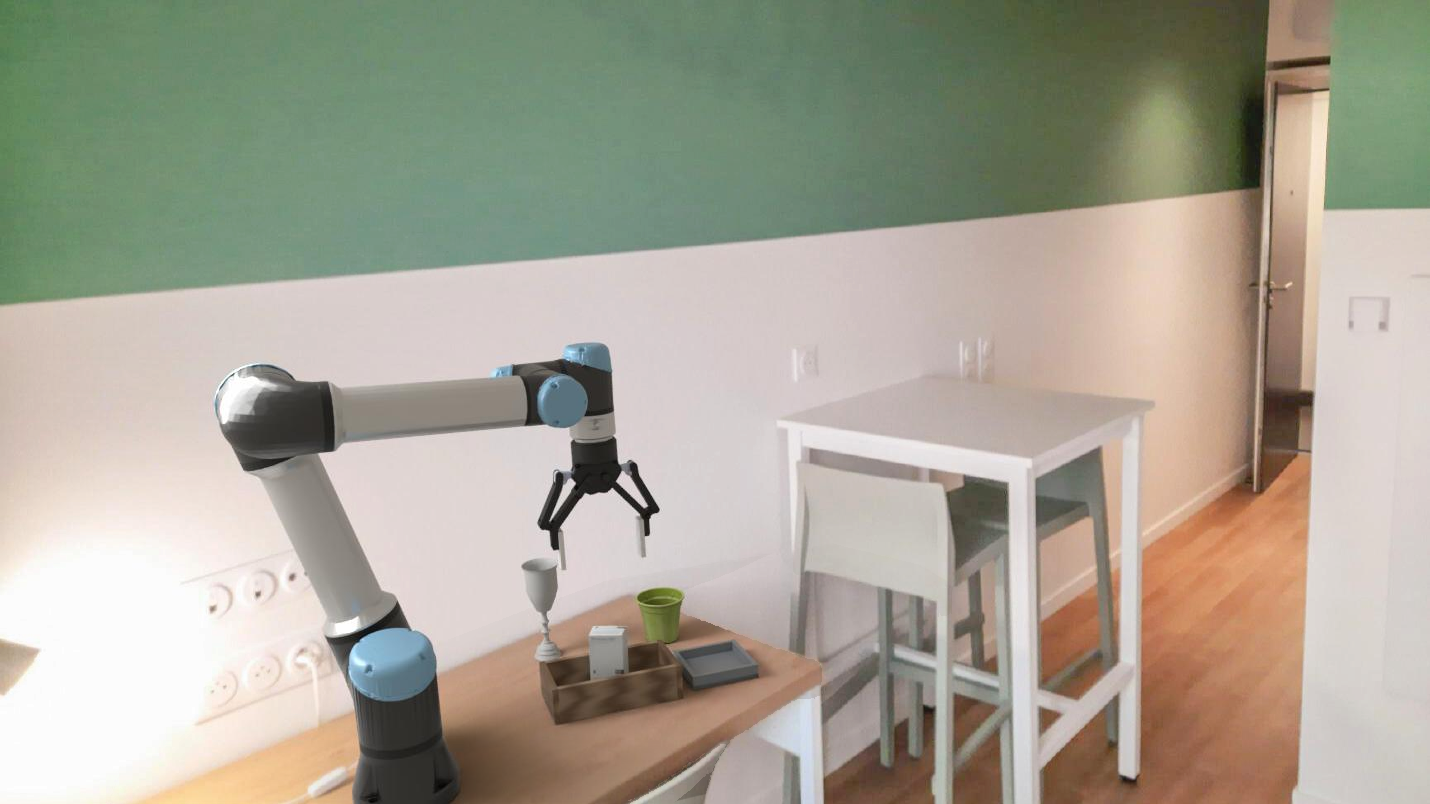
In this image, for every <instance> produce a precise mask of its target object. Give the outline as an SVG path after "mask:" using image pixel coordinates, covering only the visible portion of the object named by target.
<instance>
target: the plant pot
mask: <svg viewBox="0 0 1430 804" xmlns="http://www.w3.org/2000/svg"><path fill="white" fill-rule="evenodd" d="M684 599H685V593H684V592H683V591H682V590H680V589H678V588H675V587H667V586H663V587H653V588H648V589H645V590H642V591H640V592H639V593H637V594H636V596H635V602H636V603H637V604H638V608H639V610H640V613H641V614H640V615H641V617H642V624H643V627H644V633H645V639H646V640H647V642H650V641H655V640H661V639H662V641H663V642H664V643H665V644H671V643H673V642H675V641H676V640H678V638H679V630H680V628H679V627H680V616H681V608H682V605H683V600H684Z"/></svg>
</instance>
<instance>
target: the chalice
mask: <svg viewBox="0 0 1430 804" xmlns="http://www.w3.org/2000/svg"><path fill="white" fill-rule="evenodd" d="M558 566H559V564H558V559H556V558H553V557H538V558H533V559H530V560H527V561H525V562H523V563H522V564H521V567H520V568H521V569H522V571H523V572H524V580H525V592H526V595H527V596H528V599H529V601H530V603H531V605H532V606H533V607H534V609H535V611H536V612H538V613H541V614H540V615H541V620H540V623H541V624H542V629H541V631H540V632H541V634H542V635H543V640H542V641H541V642H539V644H538V645H537V646H536V650H535V653H534V656H533V657H534V659H535V660H536V661H539V662H542V661H547V660H553V659H558V658H561V656H562V652H561V651H560V648H559V647H558V645H557V643H556V642H555V641H553V640H551V639H550V637H549V636H550V632H551V629H549V627H548V626H549V623H550V621H549V619H548V614H547V613H548V612H549V611H551V610H552V607H553V605H554V603H555V601H556V597H557V592H558V589H559V584H558V572H557V568H558Z"/></svg>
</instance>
